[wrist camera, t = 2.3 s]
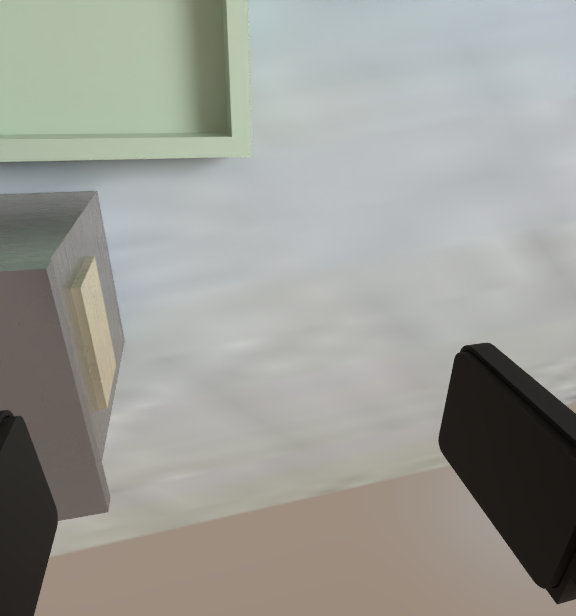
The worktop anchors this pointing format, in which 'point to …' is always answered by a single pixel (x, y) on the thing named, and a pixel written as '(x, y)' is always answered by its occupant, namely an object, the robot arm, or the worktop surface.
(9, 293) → the grey box
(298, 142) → the worktop surface
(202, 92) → the tray
